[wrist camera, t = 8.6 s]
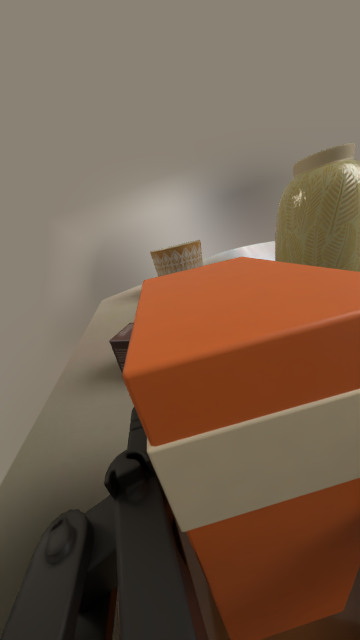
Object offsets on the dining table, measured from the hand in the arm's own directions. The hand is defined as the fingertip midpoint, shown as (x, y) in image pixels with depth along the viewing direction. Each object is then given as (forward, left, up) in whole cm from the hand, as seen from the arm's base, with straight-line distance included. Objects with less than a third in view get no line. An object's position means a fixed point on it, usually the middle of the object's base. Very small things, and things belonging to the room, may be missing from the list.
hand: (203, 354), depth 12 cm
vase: (+35, +32, -11) cm, 49 cm away
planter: (+7, +67, -11) cm, 68 cm away
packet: (0, -5, -7) cm, 9 cm away
